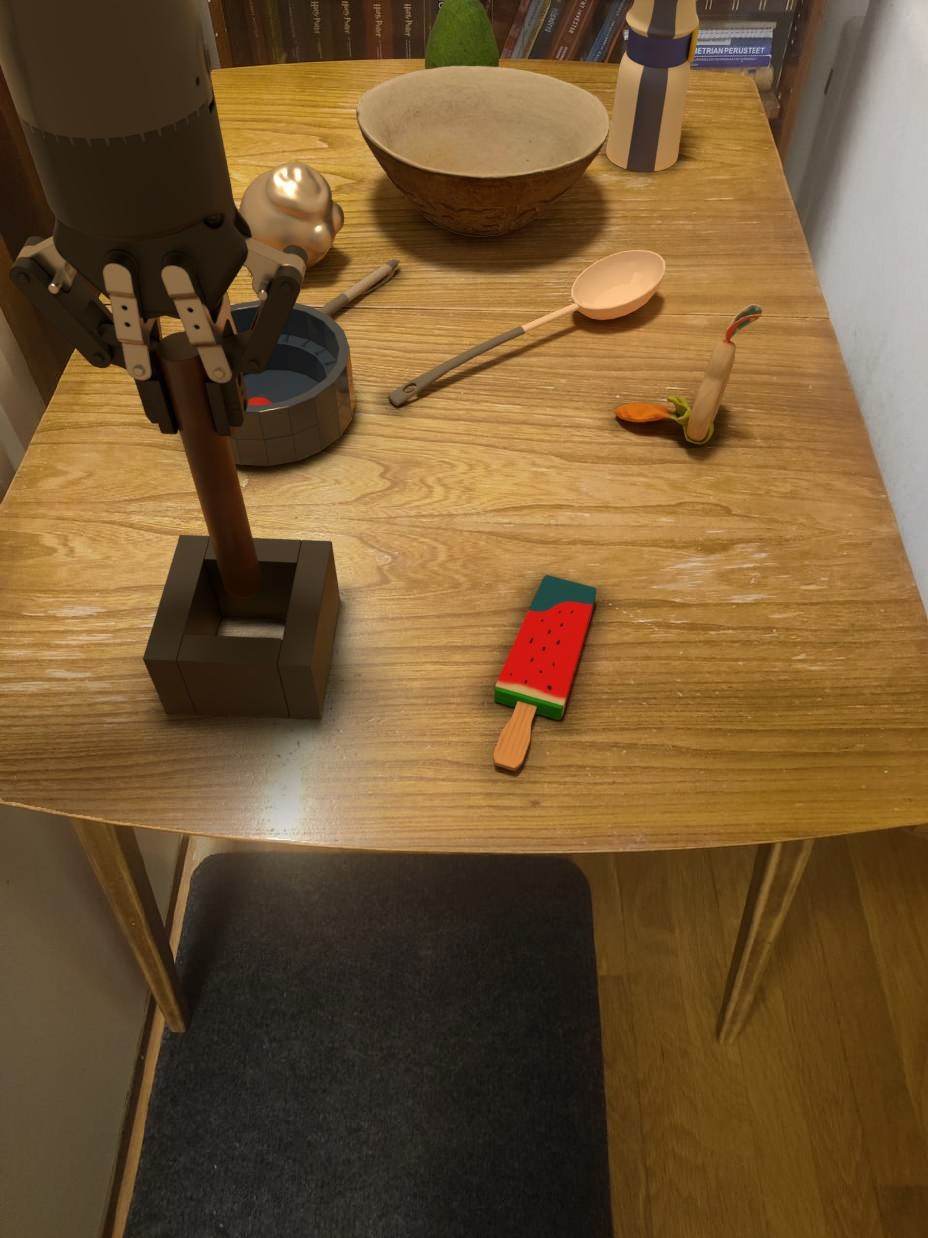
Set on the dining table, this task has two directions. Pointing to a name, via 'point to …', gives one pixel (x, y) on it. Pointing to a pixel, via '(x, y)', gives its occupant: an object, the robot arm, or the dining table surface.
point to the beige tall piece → (709, 393)
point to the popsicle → (542, 663)
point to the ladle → (574, 305)
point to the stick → (210, 466)
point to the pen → (361, 287)
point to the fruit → (461, 37)
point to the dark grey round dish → (295, 390)
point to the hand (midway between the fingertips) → (202, 423)
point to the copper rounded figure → (293, 210)
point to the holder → (245, 666)
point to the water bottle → (653, 85)
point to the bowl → (482, 143)
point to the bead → (258, 401)
